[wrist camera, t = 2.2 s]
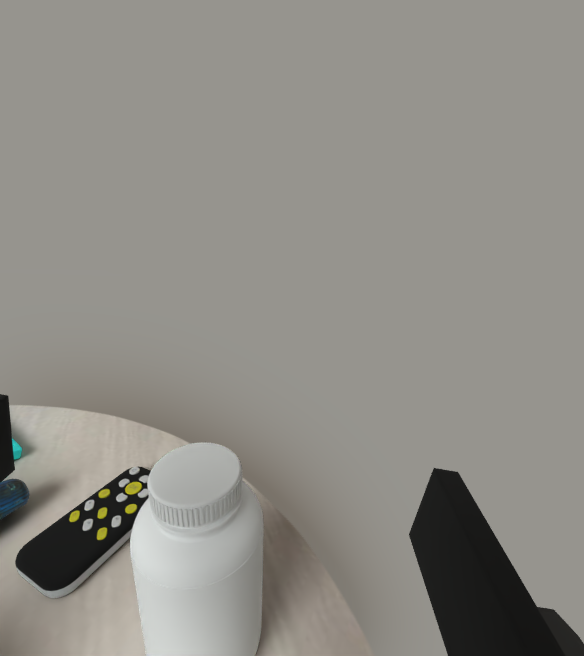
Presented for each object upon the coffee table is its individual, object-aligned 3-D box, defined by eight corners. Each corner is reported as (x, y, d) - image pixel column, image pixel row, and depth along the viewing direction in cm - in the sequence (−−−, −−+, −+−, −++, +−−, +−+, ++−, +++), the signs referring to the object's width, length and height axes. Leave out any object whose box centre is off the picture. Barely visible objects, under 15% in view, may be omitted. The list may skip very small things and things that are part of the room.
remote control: (10, 571, 29) (5, 553, 29) (136, 473, 40) (135, 459, 39) (57, 610, 27) (53, 591, 26) (178, 495, 38) (177, 480, 37)
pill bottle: (143, 603, 28) (122, 442, 22) (243, 567, 31) (245, 419, 26) (148, 739, 21) (120, 552, 16) (276, 675, 24) (288, 502, 19)
